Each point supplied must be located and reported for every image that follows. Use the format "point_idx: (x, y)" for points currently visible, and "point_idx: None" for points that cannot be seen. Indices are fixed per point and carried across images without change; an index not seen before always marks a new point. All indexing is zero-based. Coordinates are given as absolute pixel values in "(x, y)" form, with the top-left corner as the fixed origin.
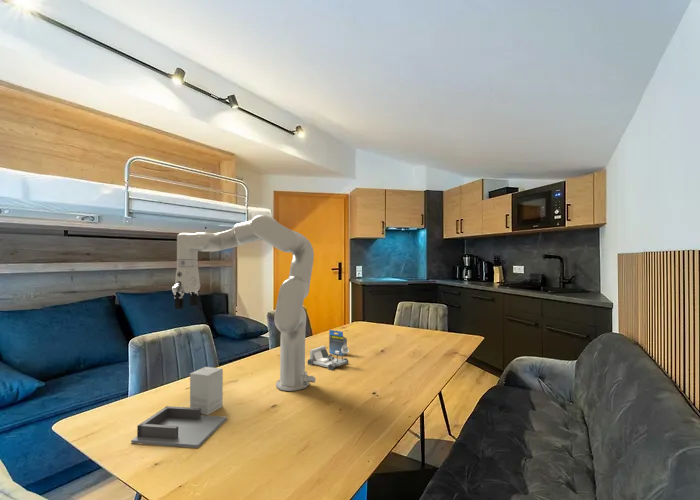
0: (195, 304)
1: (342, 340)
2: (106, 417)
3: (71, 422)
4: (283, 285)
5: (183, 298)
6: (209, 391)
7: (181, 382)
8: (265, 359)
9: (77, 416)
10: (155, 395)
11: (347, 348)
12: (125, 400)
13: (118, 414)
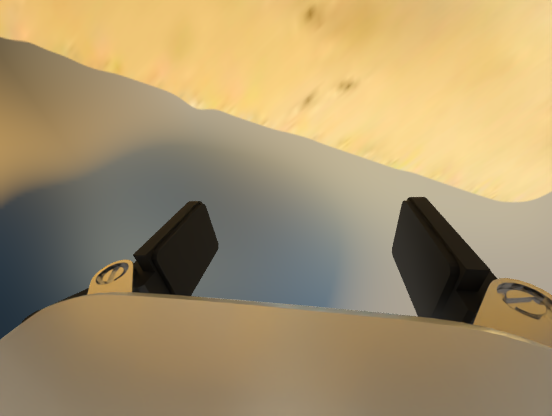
0: (205, 212)
1: None
2: (519, 144)
3: (529, 189)
4: None
5: (463, 267)
6: None
7: (314, 130)
8: (86, 4)
9: (498, 198)
10: (397, 131)
11: None
12: (423, 172)
13: (507, 131)
